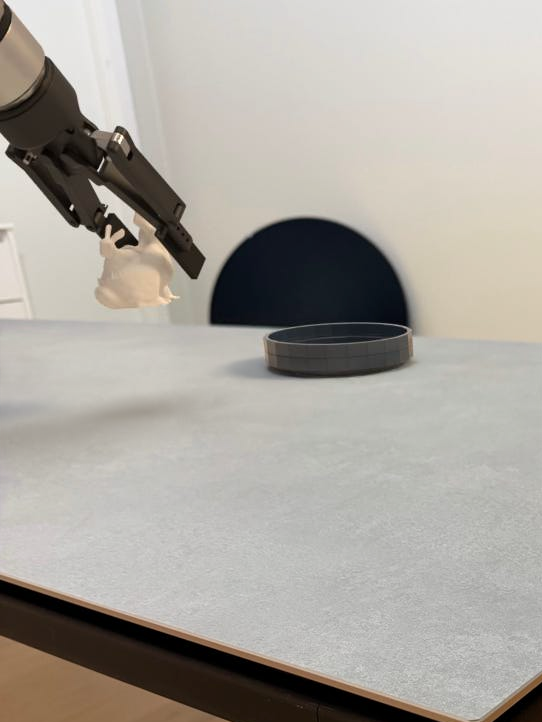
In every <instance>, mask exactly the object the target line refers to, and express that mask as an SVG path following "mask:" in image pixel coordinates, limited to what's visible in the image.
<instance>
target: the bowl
mask: <svg viewBox="0 0 542 722" xmlns="http://www.w3.org/2000/svg"><path fill="white" fill-rule="evenodd" d="M413 340H414V339H413V331H412V328H410V327H408V326H405V325H401V324H396V323H395V324H394V323H382V322H333V323H318V324H308V325H307V324H306V325H299V326H292V327H285V328H281V329H277V330H274V331H273V330H272V331H270V332H267V333H266V334H264V335H263V337H262V341H263V349H264V350H263V351H264V357H265V363H266V364H267V365H268V366H270V367H272V368H275V369H278V370H279V371H281V372H283V373H286V374H291V375H298V376H309V377H341V376H357V375H365V374H373V373H378V372H379V373H380V372H384V371H388V370H392V369H396V368H397V367H400V366H402V365H403V364H404V363H405V362H407V361H410V360H411V359H413V358H414V343H413V342H414V341H413Z"/></svg>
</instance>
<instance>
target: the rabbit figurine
mask: <svg viewBox="0 0 542 722" xmlns="http://www.w3.org/2000/svg"><path fill="white" fill-rule="evenodd" d="M132 219H133V221H132V222H133V224H134V226H136V227H138V228H139V230H138V246H131V245H126V246H124V247H122V248H120V249H117V248H116V246H115V244H114V243H115V242H116V241H117V240H118V239H120V238H122V237H123V236H124V233H125V231H124V230H123V229H121V230H119V231H118V232H116V233H115V234H114V235H113V236H112V237H111V238H110V234H111V228H112V227H111V225H107V226H106V231H105V238H104V239H100V240H99V242H98V243H99V244H98V245H99V254H100V256H101V257H102V258H104V260H103V267H102V268H103V270H102V274H101V276H100V277H96V278H97V284H98V286H96V287H95V289H94V292H93V293H94V297H95V299H96V300H97V301H98V303H99V304H100V305H102V306H104V307H107V308H109V309H111V310H123V309H141V308H150V307H158V306H167V305H169V303H172V301H176V300H180V299H181V298H182V297H181V296H179V295H173V293H172V291H171V289H170V287H169V283H170V282H171V281H172V279H173V276H174V271H175V270H174V263H173V261H172V258H171V255H170V253H169V252H168V251H167V250H166V249H165V247H164V246H163V245H162V244H161V243H160V241H159V240H158V239H157V238H156V237H155V235H154V234H155V231H156V228H154V227H153V226H152V225H151V224H150V223H148V222H147V221H146V220H145V219H144V218H142V217H141V216H140V215H139V214H138V213H136V212H135V211H134V215H133V218H132Z"/></svg>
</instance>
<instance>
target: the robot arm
mask: <svg viewBox="0 0 542 722" xmlns="http://www.w3.org/2000/svg"><path fill="white" fill-rule="evenodd" d="M0 134H1V136H2V137H3V138H4V139H5V140H6V141H7V142H8V146H7V148H6V149H5V151H4V154H5V156H6V157H7V158H8V159H9V160H10V161H12V162H13V163H14V164H15V165H17V167H18V168H20V169H21V170H22V171H23V172H24V173H25V174H26V175H27V177H28V178H30V180H31V181H32V183H34V185H35V186H36V187H37V188H38V190H39V191H40V192H41V193H42V194H43V196H44V197H46V199H47V201H49V202H50V204H51V205H52V206H53V207H54V209H55V210H56V211H57V212H58V214H60V215H61V217H62V218H63V219H64V221H66V223H67V224H68V225H69V226H70V227H72V228H74V229H79V228H80V226H84V227H85V229H86V230H87V231H89V232H91V233H94V234H96V235H97V236H98V238H99V239H100V240H102V239H104V238H105V231H106V226H107V225H111V227H112V228H111V234H110V238H111V237H112V236H113V235H114V234H115V233H116V232H118V231H119V230H121V229H123V230H124V231H125V233H124V236H123V237H122V238H120V239H118V240H117V241H116V242H115V243H114V244H115V246H116V248H117V249H120V248H122V247H124V246H126V245H131V246H138V241H139V239H137V238H136V236H135V234H133V233H132V232H131V231H130V229H129V228H128V227H127V226H126V225H125V224H124V223H123V221H122V220H121V219H120V218H119V217H118V215H116V213H115V212H108V213H107V210H108V208H109V205H108V204H106V203H102V202H101V200H100V198H99V196H98V194H97V192H96V190H95V188H94V187H93V184H94V185H95V186H97V187H102V186H104V187H105V188H106V189H108V190H109V191H110V192H111V193H112V194H113V195H115V196H116V198H118V199H119V200H121V201H122V202H123V203H124V204H126V205H127V206H128V207H129V208H130V209H131V210H132V211H134V213H135V212H136V213H138V214H139V215H140V216H141V217H142V218H144V219H145V220H146V221H147V222H148V223H150V224H151V225H152V226H153V227H154V228H156V231H155V234H154V235H155V237H156V238H157V239H158V240H159V241H160V243H161V244H162V245H163V246H164V247H165V249H166V250H167V251H168V252H169V253H168V254H169V255H170V257H172V258H173V260H175V262H176V263H177V264H178V266H179V267H180V268H181V269H182V270H183V271H184V272H185V274H186V275H187V276H188V277H189V278H190V280H196V281H197V280H198V279H199V276H200V274H201V271H202V269H203V267H204V265H205V262H206V260H207V258H206V256H205V255H204V254H203V252H202V251H201V250H200V249H199V248H198V246H197V244H195V243H194V239H193V236H192V235H191V234H190V233H189V232H188V230H187V229H186V228H185V226H184V225H183V224H182V223H181V219H182V218H183V215H184V213H185V211H186V208H187V205H186V203H185V202H184V200H183V199H182V198H181V197H180V196H179V194H178V193H176V192H175V190H174V189H173V188H172V186H171V185H169V183H168V182H167V181H166V180H165V179H164V177H163V176H162V175H161V174H160V173H159V171H158V170H157V169H155V167H154V166H153V165H152V164H151V163H150V161H149V160H148V159H147V158H146V157H145V155H144V154H143V153H142V152H141V150H139V148H138V147H137V146H136V144H135V142H134V140H133V138H132V136H131V135H130V132H129V131H128V130H127V129H126V128H125V127H124V126H121V125H116V126H115V128H114V130H113V131H112V132H110V131H105V130H100V129H99V127H98V126H97V125H96V124H95V123H94V122H93V121H92V120H90V119H88V118H87V117H86V116H85V115H84V114H83V113H82V111H81V108H80V103H79V98H78V94H77V91H76V89H75V88H74V86H73V85H72V84H71V83H70V81H69V79H67V78H66V77H65V75H64V74H63V73H62V72H61V69H59V67H58V66H57V65H56V64H55V63H54V61H53V60H52V59H51V58H50V57H49V56H47V55H45V51H44V48H43V46H42V45H41V44H40V42H39V41H38V40H37V39H36V37H34V35H33V34H32V33H31V31H30V30H29V29H28V27H26V25H25V24H24V23H23V22H22V20H21V19H20V18H19V17H18V16H17V14H16V13H15V12H14V11H13V9H12V8H11V6H10V5H9V4H7V3H6V1H5V0H0ZM91 182H92V183H93V184H92V183H91ZM72 206H73V208H72V209H71V207H72ZM106 213H107V216H105V214H106Z"/></svg>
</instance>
